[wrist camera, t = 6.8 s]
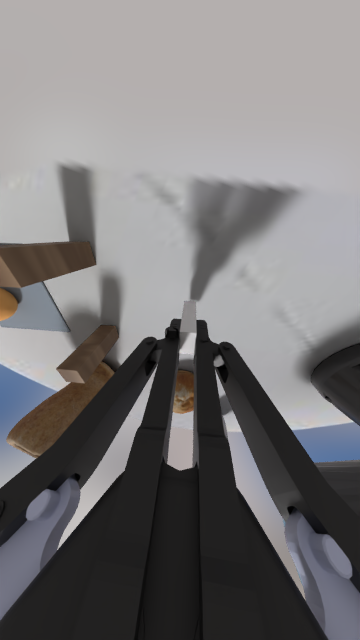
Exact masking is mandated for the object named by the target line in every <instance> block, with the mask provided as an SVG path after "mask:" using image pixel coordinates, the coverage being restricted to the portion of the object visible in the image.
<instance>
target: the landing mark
mask: <svg viewBox="0 0 360 640" xmlns="http://www.w3.org/2000/svg"><path fill="white" fill-rule="evenodd" d="M0 288H2V289H4V290H6V291H8V292H10V293H11V294H12V295H13V296H14V297H15V298H16V300H17V302H18V308H17V311H16V312H15V313H14V314H13V315H12V316H11V317H9V318H8V319H5V320H2V321H0V326H1V327H8V328H21V329H35V330H48V331H62V332H70V330H69V328H68V326H67V324H66V323H65V321H64V319H63V317H62V315H61V314H60V312H59V310H58V308H57V307H56V305H55V303H54V301H53V299H52V298H51V296H50V294H49V292H48V290H47V289H46V287H45V285H44V283H43V282H39V283H35V284H32V285H29V286H26V287H22V288H16V287H0Z"/></svg>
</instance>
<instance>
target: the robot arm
mask: <svg viewBox="0 0 360 640" xmlns="http://www.w3.org/2000/svg"><path fill="white" fill-rule="evenodd" d="M179 353H182V354H194V363H193V364H194V424H193V431H194V432H193V435H194V436H193V437H194V438H193V468H189V469H185V470H182V471H179V470H177V469H175V468H173V467H171V466H169V465H168V464H167V459H168V447H169V438H170V429H171V421H172V413H173V404H174V396H175V388H176V379H177V371H178V363H179ZM157 364H158V366H157ZM156 366H157V370H156V373H155V377H154V380H153V384H152V388H151V391H150V395H149V398H148V402H147V406H146V409H145V413H144V416H143V420H142V423H141V425H140V427H139V428H138V429H137V432H136V434H135V437H134V441H133V444H132V447H131V451H130V454H129V458H128V461H127V465H126V468H125V471H124V472H123V473H122V474H121V475H120V476H119V477H118V478H117V479H116V480H115V481H114V482H113V483H112V485H111V486H110V487H109V488H108V490H107V491H106V492H105V493H104V495H103V496H102V497H101V498H100V499H99V500H98V502H97V503H96V504H95V505H94V507H93V508H92V509H91V510H90V511H89V513H88V514H87V515H86V516H85V518H84V519H83V520H82V521H81V522H80V524H79V525H78V526H77V527H76V529H75V530H74V531H73V532H72V533H71V535H70V536H69V537H68V538H67V539H66V541H65V542H64V543H63V544H62V546H61V547H60V548H59V549H58V550H57V548H58V545H59V541H60V539H61V536H62V534H63V532H64V530H65V528H66V527H67V525H68V523H69V522H70V520H71V519H72V517H73V515H74V514H75V511H76V509H77V507H78V503H79V500H80V489H81V488H82V487H83V486H84V484H85V483H86V482H87V480H88V479H89V478H90V476H91V475H92V474H93V472H94V471H95V469H96V468H97V466H98V464H99V463H100V461H101V460H102V458H103V456H104V455H105V453H106V451H107V450H108V448H109V446H110V445H111V443H112V441H113V439H114V438H115V436H116V434H117V433H118V431H119V429H120V428H121V426H122V424H123V422H124V421H125V419H126V417H127V416H128V414H129V412H130V411H131V409H132V407H133V405H134V404H135V402H136V400H137V399H138V397H139V395H140V393H141V392H142V390H143V388H144V387H145V385H146V383H147V382H148V380H149V378H150V376H151V375H152V373H153V371H154V370H155V368H156ZM215 370H216V372H217V374H218V377H219V379H220V381H221V384H222V386H223V388H224V391H225V393H226V395H227V397H228V400H229V402H230V404H231V407H232V409H233V411H234V414H235V416H236V418H237V421H238V423H239V425H240V428H241V430H242V432H243V434H244V437H245V439H246V442H247V444H248V446H249V448H250V451H251V453H252V455H253V458H254V460H255V462H256V465H257V467H258V469H259V472H260V474H261V476H262V478H263V481H264V483H265V485H266V487H267V489H268V491H269V494H270V496H271V498H272V500H273V501H274V503H275V505H276V507H277V509H278V510H279V513H280V514H281V516H282V518H283V522H284V527H285V538H286V543H287V546H288V549H289V552H290V554H291V557H292V558H293V561H294V563H295V565H296V569H297V572H298V574H299V577H300V580H301V583H302V585H303V588H304V593H305V598H306V601H305V599H304V598H303V596H302V594H301V593H300V591H299V589H298V588H297V586H296V584H295V582H294V581H293V579H292V577H291V576H290V574H289V572H288V571H287V569H286V567H285V566H284V564H283V562H282V561H281V559H280V557H279V555H278V554H277V552H276V550H275V549H274V547H273V545H272V544H271V542H270V540H269V539H268V537H267V535H266V534H265V532H264V530H263V529H262V527H261V525H260V524H259V522H258V520H257V518H256V517H255V515H254V513H253V512H252V510H251V508H250V507H249V505H248V503H247V502H246V500H245V498H244V497H243V495H242V494H241V493H240V491H239V490H238V489H237V487H236V482H235V476H234V470H233V464H232V458H231V451H230V446H229V442H228V439H227V438H226V436H225V433H224V427H223V421H222V414H221V407H220V400H219V394H218V387H217V380H216V374H215ZM311 382H312V384H313V386H314V387H315V388H316V389H317V391H318V392H319V393H320V394H321V395H322V396H323V397H324V398H325V399H326V400H327V401H329V402H331V403H332V404H333V405H334V406H335V407H336V408H338V409H339V410H340V411H341V412H343V413H344V414H345V415H346V416H348V417H349V418H350V419H351V420H353V421H354V422H355V423H357V424H358V425H359V426H360V344H359V345H355V346H352V347H350V348H347V349H345V350H342V351H340V352H338V353H336V354H334V355H333V356H331V357H329V358H328V359H326V360H325V361H323V362H322V363H321V364H320V365H319V366H318V367H317V368H316V369H315V370H314V372H313V374H312V377H311ZM0 640H360V460H350V461H334V462H319V463H314V462H313V461H312V460H311V458H310V457H309V455H308V454H307V452H306V451H305V449H304V448H303V446H302V445H301V443H300V442H299V441H298V439H297V438H296V436H295V435H294V433H293V432H292V430H291V429H290V427H289V426H288V424H287V423H286V422H285V420H284V419H283V417H282V416H281V414H280V413H279V411H278V410H277V408H276V407H275V406H274V404H273V403H272V401H271V400H270V398H269V397H268V395H267V394H266V392H265V391H264V389H263V388H262V387H261V385H260V384H259V382H258V381H257V379H256V378H255V376H254V375H253V373H252V372H251V370H250V369H249V368H248V366H247V365H246V363H245V362H244V360H243V359H242V357H241V356H240V354H239V353H238V352H237V350H236V349H235V347H234V346H233V345H232V344H231V343H228V342H221V343H220V344H216V343H213V342H212V341H211V340H210V338H209V336H208V329H207V323H206V322H205V320H196V301H184V307H183V313H182V319H173V320H172V321H171V324H170V327H168V328H166V330H165V338H164V339H161V340H157V339H156V338H154V337H147V338H145V339H144V340H143V341H142V342H141V343H140V344H139V345H138V347H137V348H136V349H135V350H134V351H133V352H132V353H131V355H130V356H129V357H128V358H127V359H126V360H125V362H124V363H123V364H122V365H121V366H120V367H119V369H118V370H117V371H116V372H115V373H114V374H113V376H112V377H111V378H110V379H109V380H108V381H107V382H106V384H105V385H104V386H103V387H102V388H101V389H100V391H99V392H98V393H97V394H96V395H95V396H94V398H93V399H92V400H91V401H90V402H89V403H88V405H87V406H86V407H85V408H84V409H83V410H82V412H81V413H80V414H79V415H78V416H77V417H76V418H75V420H74V421H73V422H72V423H71V424H70V425H69V427H68V428H67V429H66V430H65V431H64V432H63V434H62V435H61V436H60V437H59V438H58V439H57V441H56V442H55V443H54V444H53V445H52V446H51V447H50V448H49V449H47V450H46V451H45V452H44V453H43V454H41V455H40V456H39V457H38V458H36V459H35V460H34V461H33V462H32V463H30V464H29V465H28V466H27V467H26V468H25V469H23V470H22V471H21V472H20V473H18V474H17V475H16V476H15V477H14V478H12V479H11V480H10V481H9V482H7V483H6V484H5V485H4V486H3V487H1V488H0Z"/></svg>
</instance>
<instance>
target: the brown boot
mask: <svg viewBox="0 0 360 640" xmlns="http://www.w3.org/2000/svg"><path fill="white" fill-rule="evenodd" d="M114 373H115V372H114V371H113V370H112V369H111V368H110V367H109V366H108V365H107V364H106V363H104V362H102V361H101V363H100V364H99V365H98V367H97V368H96V369H95V371H94V372H93V374H92V375H91V376H90V378H89V379H88V380H87V382H86V383H75V382H71V383H70V384H68V385H67V386H66V387H64V388H63V389H61V390H60V391H58V392H57V393H55V394H54V395H52V396H51V397H49V398H48V399H46V400H45V401H43V402H42V403H41V404H40V405H38V406H37V407H36V408H35V409H34V410H32V411H31V412H30V413H28V414H27V415H26V416H25V417H23V418H22V419H21V420H20V421H19V422H18V423H17V424H16V425H15V426H14V428H13V429H12V430H11V431H10V433H9V434H8V437H7V443H8V444H10V445H11V446H13V447H15V448H17V449H19V450H21V451H22V452H24V453H27V454H29V455H31V456H32V457H34V458H38V457H39V456H40V455H41V454H43V453H44V452H45V451H46V450H47V449H49V448H50V447H51V446H52V445H53V444H54V443H55V442H56V441H57V439H58V438H59V437H60V436H61V435H62V434H63V432H64V431H65V430H66V429H67V428H68V427H69V425H70V424H71V423H72V422H73V421H74V420H75V418H76V417H77V416H78V415H79V414H80V413H81V412H82V410H83V409H84V408H85V407H86V406H87V405H88V403H89V402H90V401H91V400H92V399H93V398H94V396H95V395H96V394H97V393H98V392H99V391H100V389H101V388H102V387H103V386H104V385H105V384H106V382H107V381H108V380H109V379H110V378H111V377H112V376H113V374H114Z"/></svg>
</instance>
